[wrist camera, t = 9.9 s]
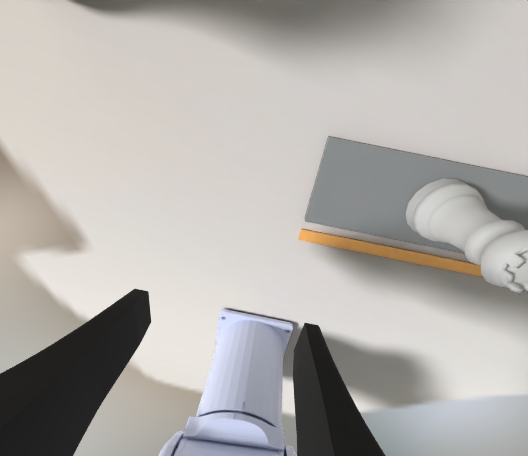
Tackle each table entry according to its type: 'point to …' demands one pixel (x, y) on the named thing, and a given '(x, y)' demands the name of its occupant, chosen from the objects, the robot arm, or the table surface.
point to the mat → (399, 189)
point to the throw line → (390, 252)
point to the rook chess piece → (472, 231)
